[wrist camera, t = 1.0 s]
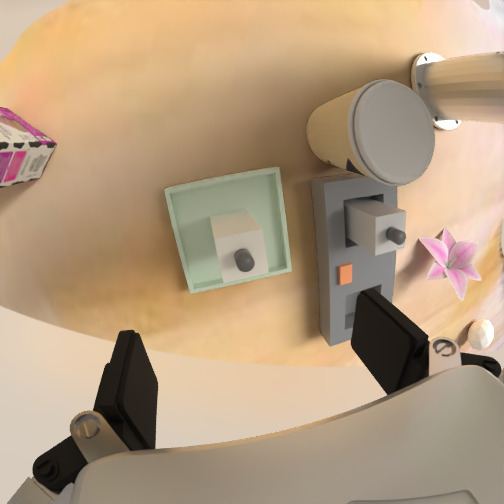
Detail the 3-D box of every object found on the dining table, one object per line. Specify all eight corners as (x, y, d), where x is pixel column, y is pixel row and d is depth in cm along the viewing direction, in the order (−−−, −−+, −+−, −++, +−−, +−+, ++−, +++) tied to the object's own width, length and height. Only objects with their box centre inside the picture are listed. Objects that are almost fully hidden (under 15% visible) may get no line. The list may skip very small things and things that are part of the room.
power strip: (310, 179, 31) (325, 183, 27) (379, 170, 32) (399, 174, 28) (320, 331, 39) (331, 348, 35) (376, 312, 40) (390, 326, 37)
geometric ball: (460, 328, 54) (463, 354, 49) (476, 310, 49) (480, 337, 43) (480, 332, 52) (484, 357, 47) (496, 313, 47) (501, 340, 41)
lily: (458, 235, 41) (490, 227, 31) (455, 299, 40) (487, 302, 30) (407, 225, 42) (436, 214, 32) (402, 295, 41) (431, 299, 31)
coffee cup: (305, 177, 31) (362, 194, 20) (292, 98, 27) (345, 74, 16) (371, 168, 32) (439, 182, 21) (361, 96, 28) (429, 83, 17)
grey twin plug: (364, 196, 32) (415, 215, 23) (365, 226, 34) (413, 252, 25) (337, 201, 32) (385, 221, 23) (339, 232, 33) (384, 261, 24)
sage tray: (274, 166, 30) (279, 167, 28) (287, 265, 34) (291, 271, 32) (165, 187, 28) (163, 189, 26) (190, 286, 33) (190, 294, 31)
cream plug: (245, 209, 30) (267, 234, 21) (251, 243, 32) (273, 280, 23) (209, 216, 30) (215, 245, 21) (216, 250, 31) (225, 291, 22)
